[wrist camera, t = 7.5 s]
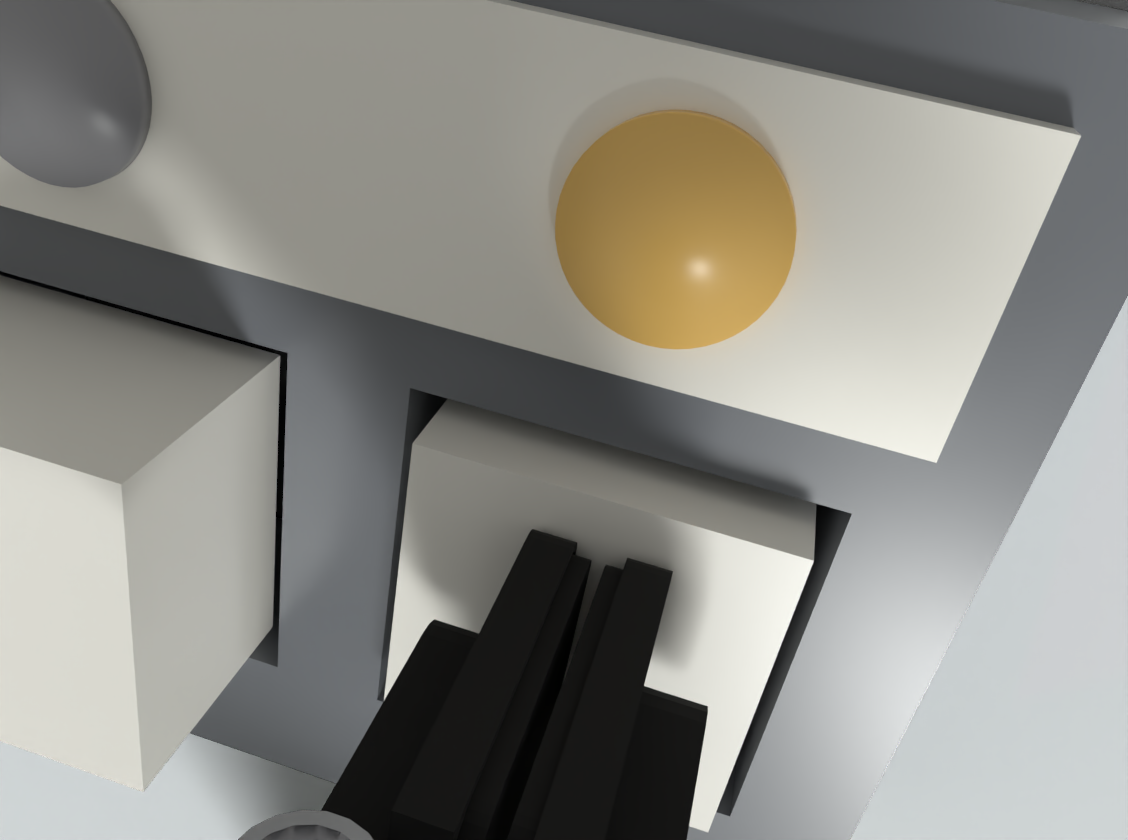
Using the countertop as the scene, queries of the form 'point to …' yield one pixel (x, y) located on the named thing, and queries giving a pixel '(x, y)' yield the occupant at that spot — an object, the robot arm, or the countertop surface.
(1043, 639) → the countertop surface
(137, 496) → the middle key
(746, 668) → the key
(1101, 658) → the countertop surface
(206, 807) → the countertop surface
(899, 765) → the countertop surface
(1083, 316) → the board
